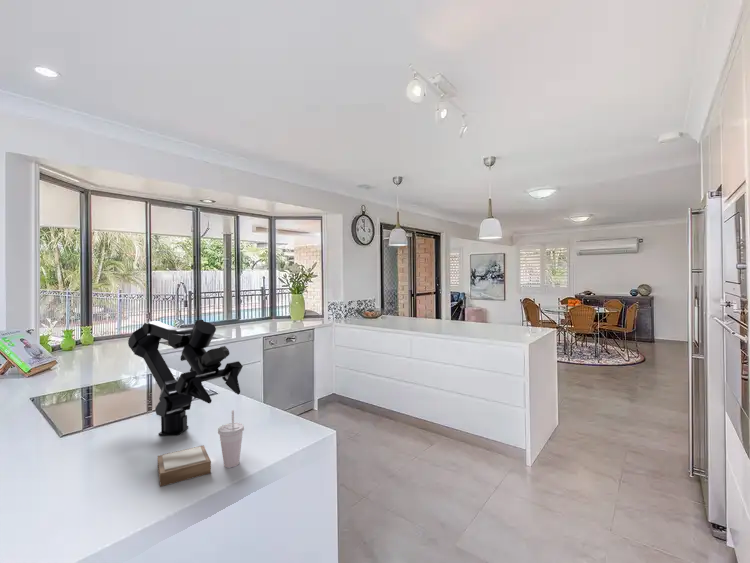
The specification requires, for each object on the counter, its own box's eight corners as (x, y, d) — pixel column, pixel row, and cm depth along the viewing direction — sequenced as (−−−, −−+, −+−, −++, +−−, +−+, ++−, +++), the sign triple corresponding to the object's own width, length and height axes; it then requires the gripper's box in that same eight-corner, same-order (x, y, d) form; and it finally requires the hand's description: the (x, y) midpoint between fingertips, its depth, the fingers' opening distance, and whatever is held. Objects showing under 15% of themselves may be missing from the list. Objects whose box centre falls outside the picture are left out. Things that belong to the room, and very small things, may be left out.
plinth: (157, 467, 98) (157, 454, 98) (203, 456, 104) (203, 444, 104) (160, 486, 89) (160, 472, 89) (210, 473, 95) (210, 460, 95)
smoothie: (235, 471, 96) (235, 415, 96) (213, 469, 97) (212, 414, 97) (249, 459, 102) (248, 407, 102) (227, 457, 103) (226, 405, 103)
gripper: (177, 344, 103) (204, 385, 97) (235, 335, 119) (263, 370, 112) (164, 373, 107) (190, 415, 100) (222, 361, 123) (248, 396, 116)
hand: (225, 397), depth 107 cm, fingers open, 9 cm apart
